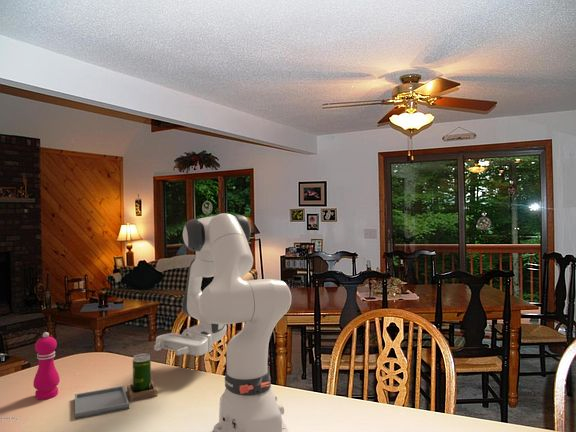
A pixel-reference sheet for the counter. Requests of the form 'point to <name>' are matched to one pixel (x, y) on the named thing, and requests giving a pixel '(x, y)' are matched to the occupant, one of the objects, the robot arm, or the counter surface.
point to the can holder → (141, 394)
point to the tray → (100, 402)
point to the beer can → (141, 372)
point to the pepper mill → (46, 368)
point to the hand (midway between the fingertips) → (165, 350)
